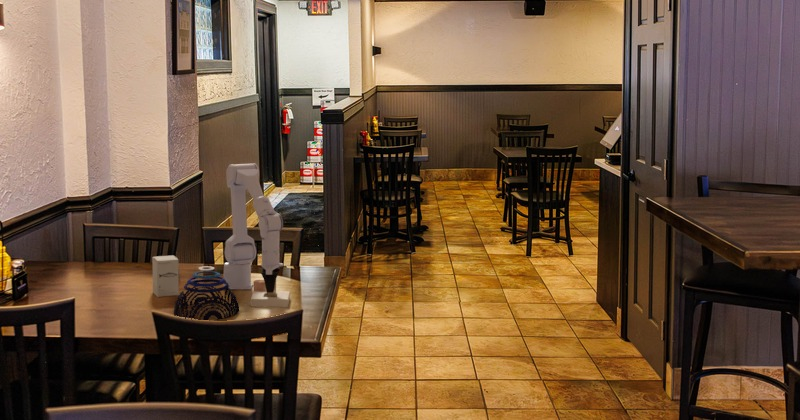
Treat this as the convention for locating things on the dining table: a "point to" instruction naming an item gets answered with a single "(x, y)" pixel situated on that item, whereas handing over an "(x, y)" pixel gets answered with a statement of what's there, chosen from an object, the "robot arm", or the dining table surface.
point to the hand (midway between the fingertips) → (270, 290)
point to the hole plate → (270, 299)
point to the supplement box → (165, 276)
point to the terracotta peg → (259, 285)
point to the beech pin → (269, 294)
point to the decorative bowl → (195, 283)
